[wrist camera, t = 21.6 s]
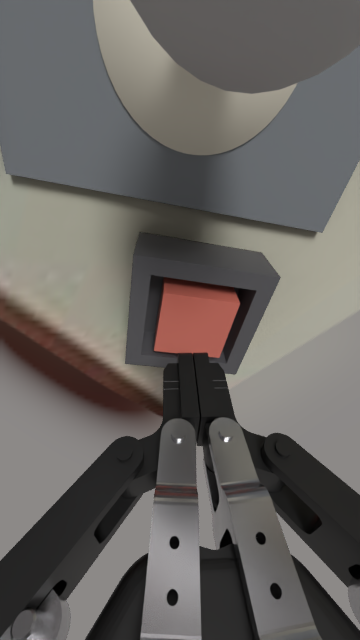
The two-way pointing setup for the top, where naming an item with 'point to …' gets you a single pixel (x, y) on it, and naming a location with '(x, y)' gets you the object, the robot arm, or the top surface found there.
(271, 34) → the lightbulb
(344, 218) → the top surface
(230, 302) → the button
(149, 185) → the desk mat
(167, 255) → the button box
